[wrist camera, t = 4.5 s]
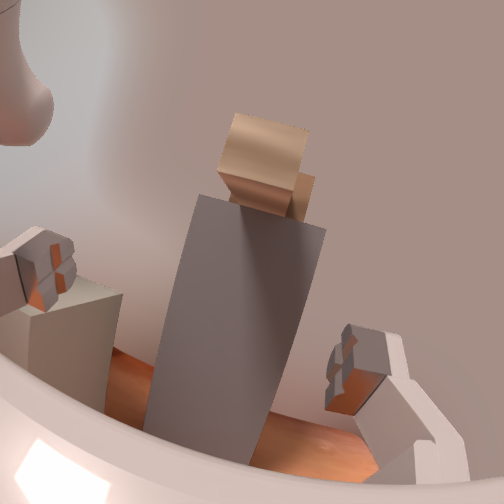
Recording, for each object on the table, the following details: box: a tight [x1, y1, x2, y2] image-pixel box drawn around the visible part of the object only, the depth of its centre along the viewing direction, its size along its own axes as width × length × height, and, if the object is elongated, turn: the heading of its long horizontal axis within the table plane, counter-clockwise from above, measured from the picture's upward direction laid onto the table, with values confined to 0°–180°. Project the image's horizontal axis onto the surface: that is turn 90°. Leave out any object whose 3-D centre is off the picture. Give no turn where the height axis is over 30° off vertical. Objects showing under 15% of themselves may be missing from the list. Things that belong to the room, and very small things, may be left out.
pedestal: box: [143, 194, 326, 465], centre depth 30 cm, size 10×11×26 cm
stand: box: [0, 275, 123, 414], centre depth 20 cm, size 7×12×16 cm, turn 176°
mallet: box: [217, 113, 315, 222], centre depth 24 cm, size 21×7×5 cm, turn 176°
